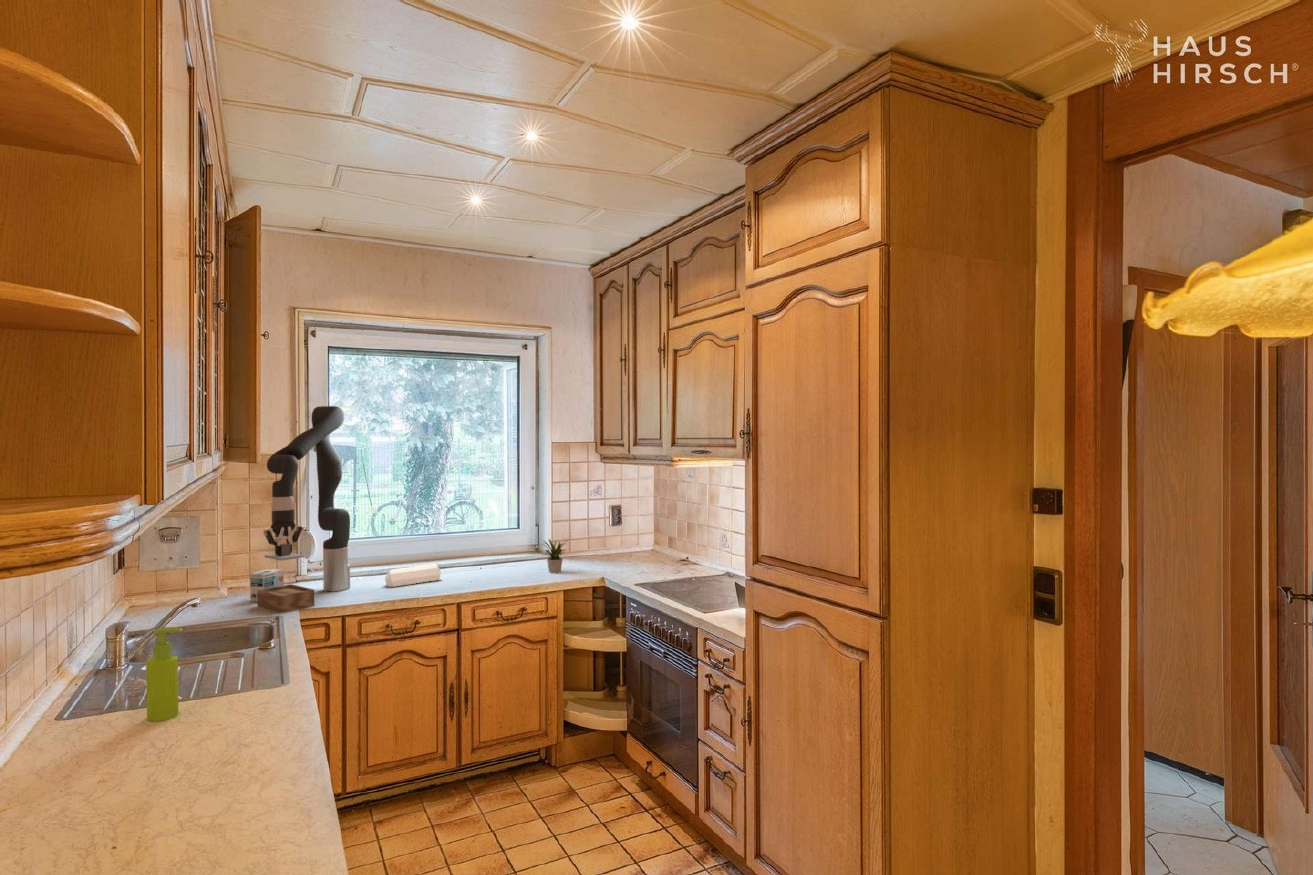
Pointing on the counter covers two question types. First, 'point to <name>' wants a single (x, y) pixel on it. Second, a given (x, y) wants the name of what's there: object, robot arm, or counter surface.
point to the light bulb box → (265, 581)
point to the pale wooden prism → (412, 575)
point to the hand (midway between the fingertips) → (283, 554)
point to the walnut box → (285, 598)
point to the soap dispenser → (162, 679)
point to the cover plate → (273, 556)
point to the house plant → (554, 557)
